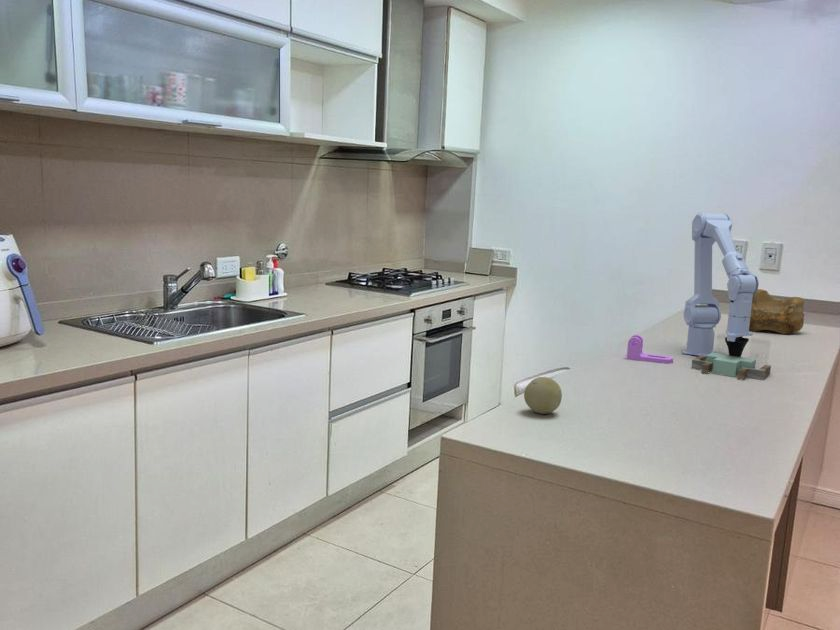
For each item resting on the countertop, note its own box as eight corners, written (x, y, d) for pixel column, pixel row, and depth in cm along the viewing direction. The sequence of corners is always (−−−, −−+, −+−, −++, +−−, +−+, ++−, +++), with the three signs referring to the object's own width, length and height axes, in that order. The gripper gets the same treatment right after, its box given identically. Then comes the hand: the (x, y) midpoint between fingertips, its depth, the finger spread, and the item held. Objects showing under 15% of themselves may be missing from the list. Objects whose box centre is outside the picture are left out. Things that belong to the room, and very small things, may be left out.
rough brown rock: (723, 329, 274) (727, 292, 270) (744, 322, 284) (748, 286, 280) (785, 342, 256) (789, 302, 253) (805, 334, 266) (809, 295, 263)
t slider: (710, 366, 207) (711, 352, 207) (754, 373, 200) (756, 359, 199) (701, 371, 200) (702, 357, 200) (746, 379, 193) (748, 364, 192)
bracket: (626, 359, 213) (628, 337, 212) (629, 356, 218) (630, 334, 217) (672, 364, 208) (674, 341, 207) (673, 361, 213) (675, 338, 212)
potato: (535, 405, 162) (537, 371, 161) (566, 413, 157) (568, 378, 156) (517, 412, 156) (519, 377, 155) (549, 420, 151) (551, 384, 150)
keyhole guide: (700, 363, 211) (701, 354, 210) (769, 374, 199) (770, 365, 199) (686, 370, 201) (687, 362, 200) (759, 382, 189) (760, 373, 189)
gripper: (748, 320, 194) (742, 369, 196) (760, 315, 205) (755, 360, 208) (721, 317, 198) (716, 364, 200) (734, 312, 210) (729, 356, 212)
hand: (734, 362), depth 204 cm, fingers closed
